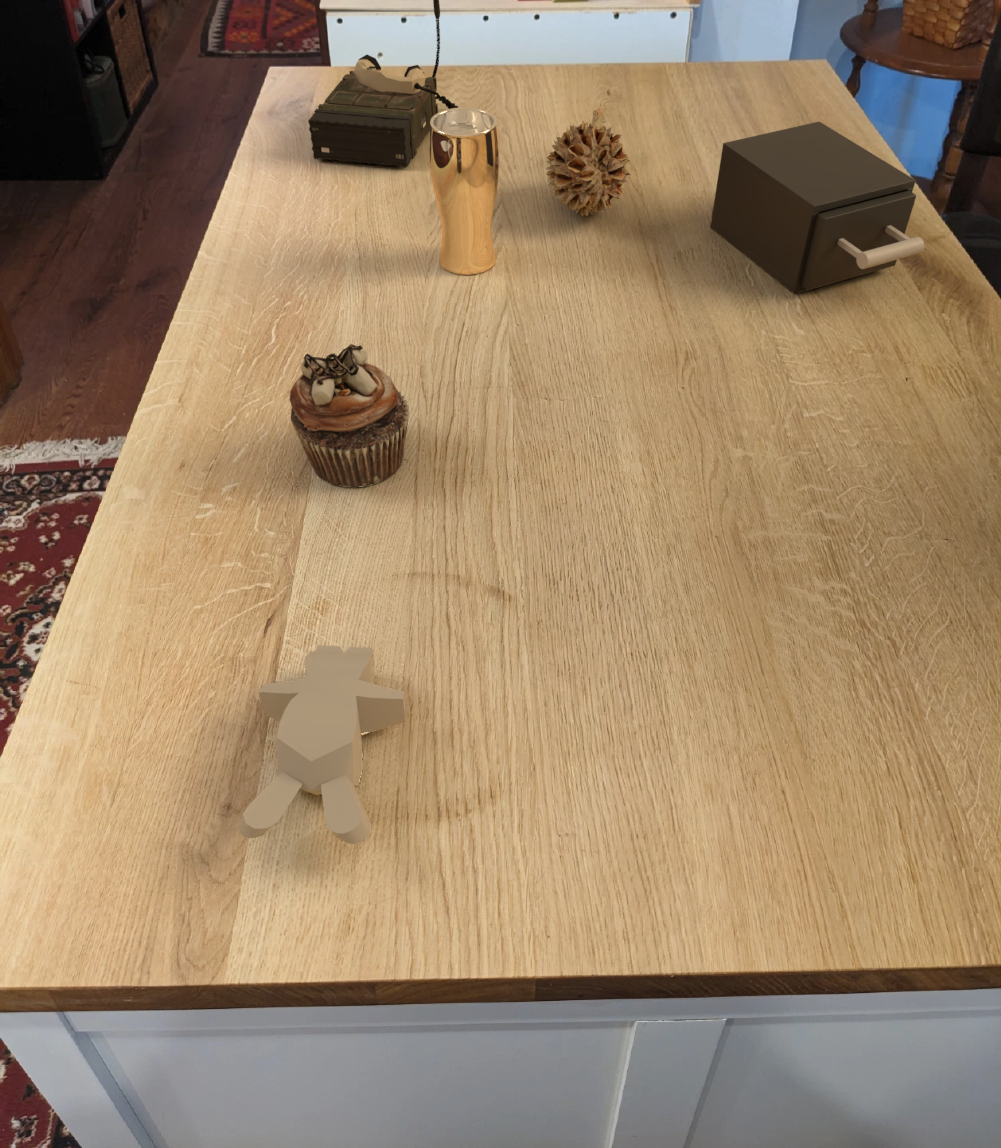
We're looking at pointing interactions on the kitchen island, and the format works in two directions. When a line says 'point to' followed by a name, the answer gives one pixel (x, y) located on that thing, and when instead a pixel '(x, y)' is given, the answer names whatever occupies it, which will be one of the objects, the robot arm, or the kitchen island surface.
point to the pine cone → (588, 166)
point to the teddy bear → (324, 739)
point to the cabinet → (792, 192)
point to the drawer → (860, 239)
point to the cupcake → (349, 418)
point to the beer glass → (465, 186)
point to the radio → (377, 113)
